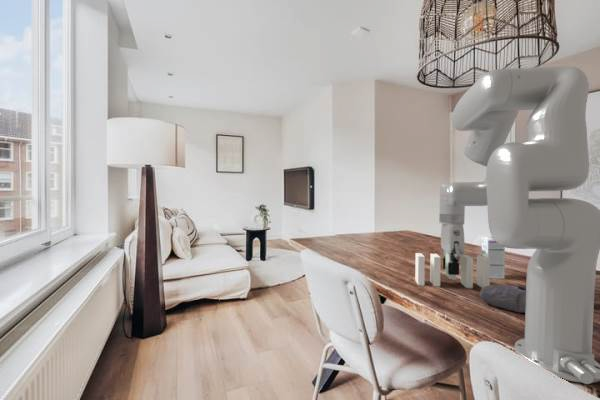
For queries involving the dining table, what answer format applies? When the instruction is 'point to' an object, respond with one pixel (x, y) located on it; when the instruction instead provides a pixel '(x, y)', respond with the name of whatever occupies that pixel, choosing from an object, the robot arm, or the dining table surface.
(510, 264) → the dining table surface
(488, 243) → the syrup box
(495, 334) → the dining table surface
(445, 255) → the domino
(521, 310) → the perforated stone tool
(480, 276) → the domino
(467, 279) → the domino
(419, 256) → the domino
